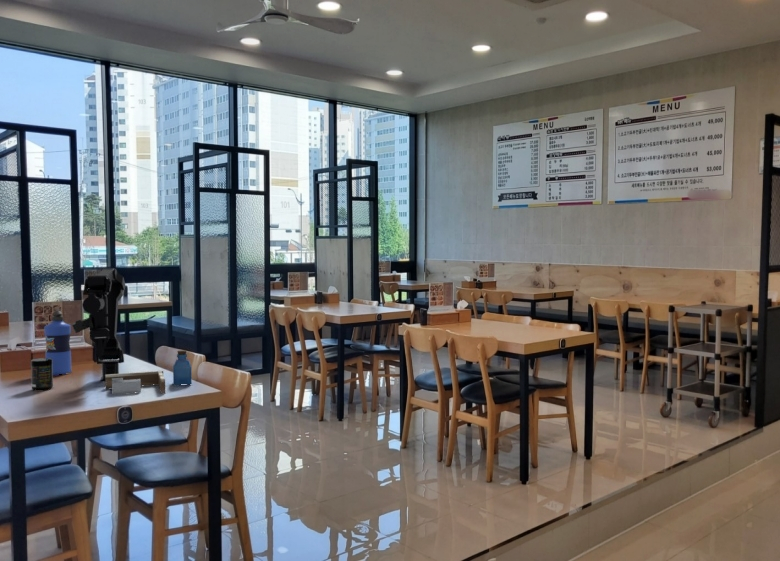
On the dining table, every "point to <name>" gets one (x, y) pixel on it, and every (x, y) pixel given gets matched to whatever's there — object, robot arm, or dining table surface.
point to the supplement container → (42, 373)
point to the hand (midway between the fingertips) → (99, 354)
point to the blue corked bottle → (182, 369)
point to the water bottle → (58, 344)
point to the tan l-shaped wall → (145, 378)
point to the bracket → (125, 386)
